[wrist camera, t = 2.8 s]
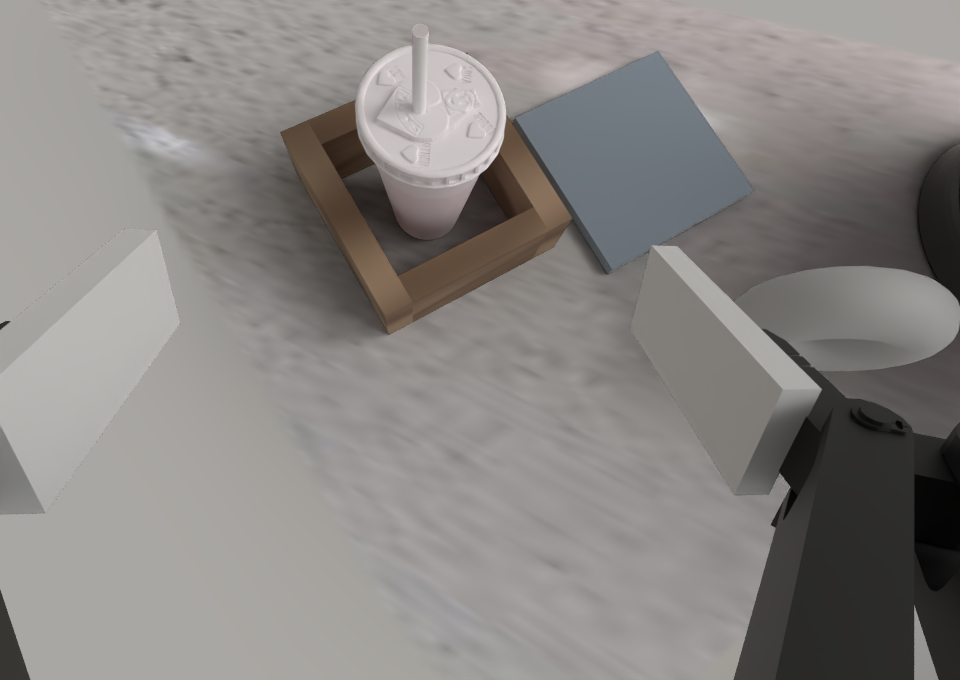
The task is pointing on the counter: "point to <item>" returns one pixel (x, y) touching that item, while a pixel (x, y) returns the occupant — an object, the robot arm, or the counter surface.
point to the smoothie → (429, 130)
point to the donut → (856, 315)
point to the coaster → (632, 160)
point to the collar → (406, 298)
